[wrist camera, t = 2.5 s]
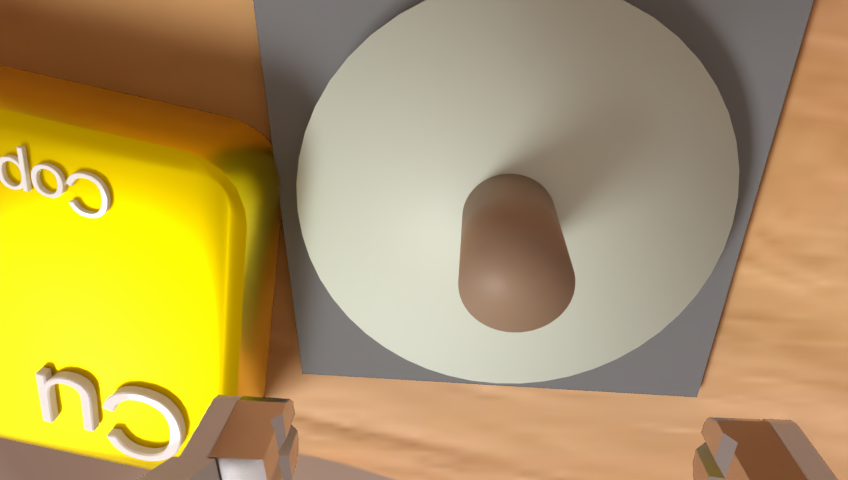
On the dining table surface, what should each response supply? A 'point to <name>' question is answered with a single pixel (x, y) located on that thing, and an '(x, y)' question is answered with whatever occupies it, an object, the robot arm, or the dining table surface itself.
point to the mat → (668, 3)
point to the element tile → (128, 267)
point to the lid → (517, 185)
